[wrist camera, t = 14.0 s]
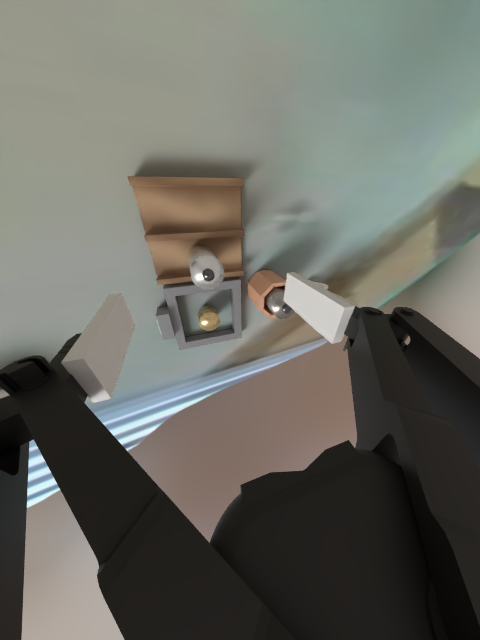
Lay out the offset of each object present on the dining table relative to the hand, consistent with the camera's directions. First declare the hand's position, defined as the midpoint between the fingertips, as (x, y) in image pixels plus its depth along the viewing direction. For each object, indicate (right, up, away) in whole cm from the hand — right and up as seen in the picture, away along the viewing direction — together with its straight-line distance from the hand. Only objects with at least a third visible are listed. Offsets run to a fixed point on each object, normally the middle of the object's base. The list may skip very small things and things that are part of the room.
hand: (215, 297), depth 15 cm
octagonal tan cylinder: (+6, +5, +21) cm, 22 cm away
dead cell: (+7, +5, +20) cm, 22 cm away
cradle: (-5, 0, +20) cm, 21 cm away
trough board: (-5, +11, +13) cm, 18 cm away
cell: (-4, +8, +14) cm, 17 cm away
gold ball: (-5, 0, +20) cm, 21 cm away
